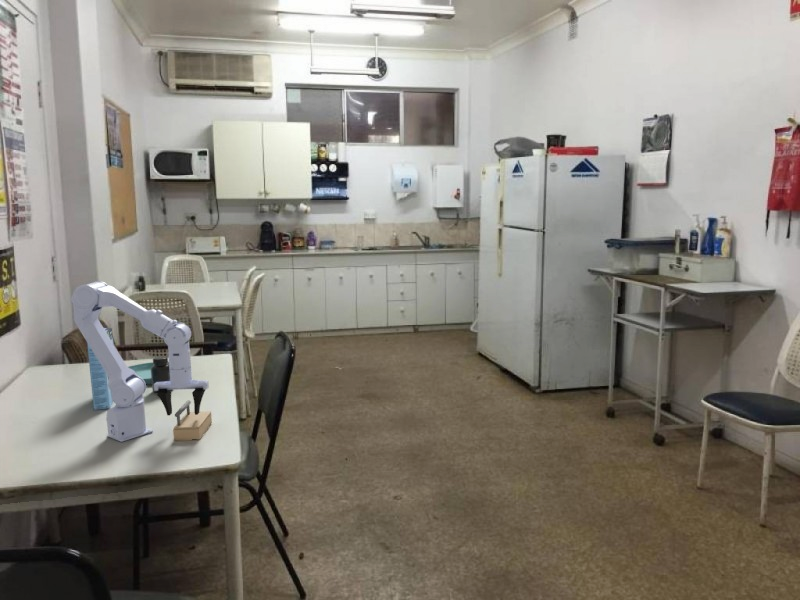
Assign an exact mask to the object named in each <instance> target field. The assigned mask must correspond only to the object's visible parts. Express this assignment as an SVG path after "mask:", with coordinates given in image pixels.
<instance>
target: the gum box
mask: <svg viewBox="0 0 800 600" xmlns="http://www.w3.org/2000/svg"><path fill="white" fill-rule="evenodd" d="M103 328H104V330H105V331H106V333H107V335H108V336H109V338H110V339H111V341H112V343H113V344H114V338H113V328H112V327H103ZM86 345H87V355H88V363H89V365H88V366H89V376H90V384H91V386H90V387H91V393H92V404H93V405H92V406H93V410H94V411H97V410H106V409H107V410H109V409H111V406H112V405H113V403H114V402H113V400H112V397H111V391H110V389H109V387H108V380H109V377H108V375H107V374H106V372H105V370H104V369H103V367H102V365H101V364H100V362H99V361H98V359H97V357H96V356H95V354H94V352H93V351H92V349H91V348H90V346H89V344H88V343H87V342H86Z"/></svg>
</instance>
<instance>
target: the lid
mask: <svg viewBox="0 0 800 600" xmlns="http://www.w3.org/2000/svg"><path fill="white" fill-rule="evenodd" d="M191 403H192V401H191V400H187V401H186V402H184V404H182V406H181V407H180V408H179V409H178V410H177V411H176V412H175V414H174V417H175V418H176V425H175V426H174V427H173V429H199V428H200V427H201V426H202V424H203V423H204V422H205V420H206V419H207V418H208V417H209V415H210V414H211V415H212V411H199V413H198V415H195V412H194V411H191V410H190V404H191ZM184 411H186V414H185V415H184V416H182V417H181V414H183V412H184Z"/></svg>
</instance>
